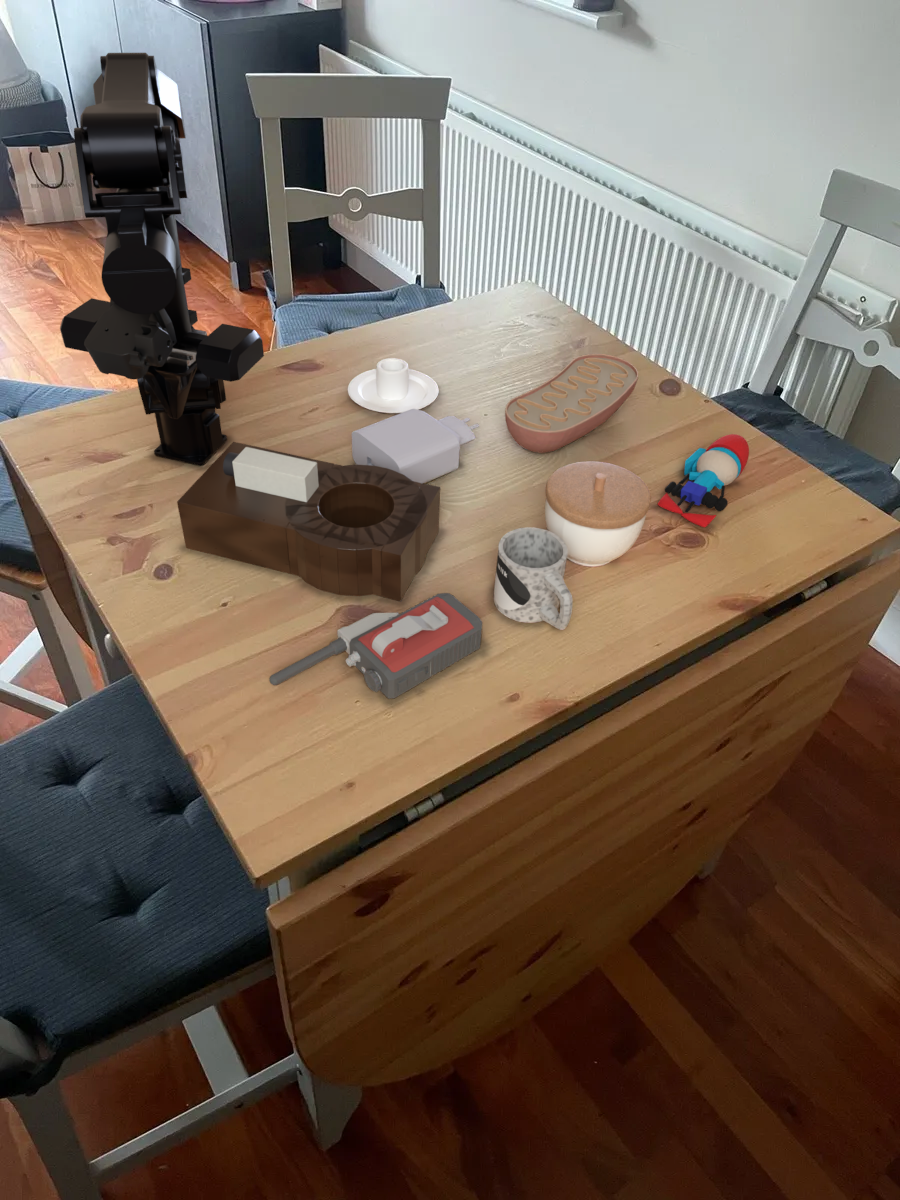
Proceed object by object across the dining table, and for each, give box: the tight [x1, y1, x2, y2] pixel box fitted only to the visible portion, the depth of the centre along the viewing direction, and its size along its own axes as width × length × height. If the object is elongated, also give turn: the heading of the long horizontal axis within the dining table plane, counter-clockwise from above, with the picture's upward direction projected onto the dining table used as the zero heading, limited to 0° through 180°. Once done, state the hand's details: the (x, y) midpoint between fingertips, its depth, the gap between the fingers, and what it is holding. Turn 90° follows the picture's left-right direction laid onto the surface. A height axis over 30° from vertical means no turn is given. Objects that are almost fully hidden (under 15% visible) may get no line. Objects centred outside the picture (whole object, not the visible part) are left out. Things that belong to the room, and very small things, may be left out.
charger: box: [351, 409, 480, 484], centre depth 109 cm, size 5×9×15 cm
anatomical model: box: [504, 353, 639, 454], centre depth 115 cm, size 23×10×5 cm, turn 142°
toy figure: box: [657, 433, 750, 528], centre depth 106 cm, size 8×5×15 cm
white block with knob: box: [223, 447, 319, 502], centre depth 94 cm, size 9×3×3 cm, turn 72°
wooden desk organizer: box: [176, 441, 441, 602], centre depth 96 cm, size 24×14×6 cm, turn 72°
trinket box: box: [544, 460, 652, 568], centre depth 95 cm, size 11×11×9 cm
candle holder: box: [347, 357, 440, 414], centre depth 120 cm, size 12×12×4 cm
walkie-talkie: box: [268, 592, 483, 699], centre depth 83 cm, size 9×4×20 cm
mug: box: [493, 526, 574, 631], centre depth 89 cm, size 10×7×7 cm
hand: (176, 416), depth 93 cm, fingers closed
